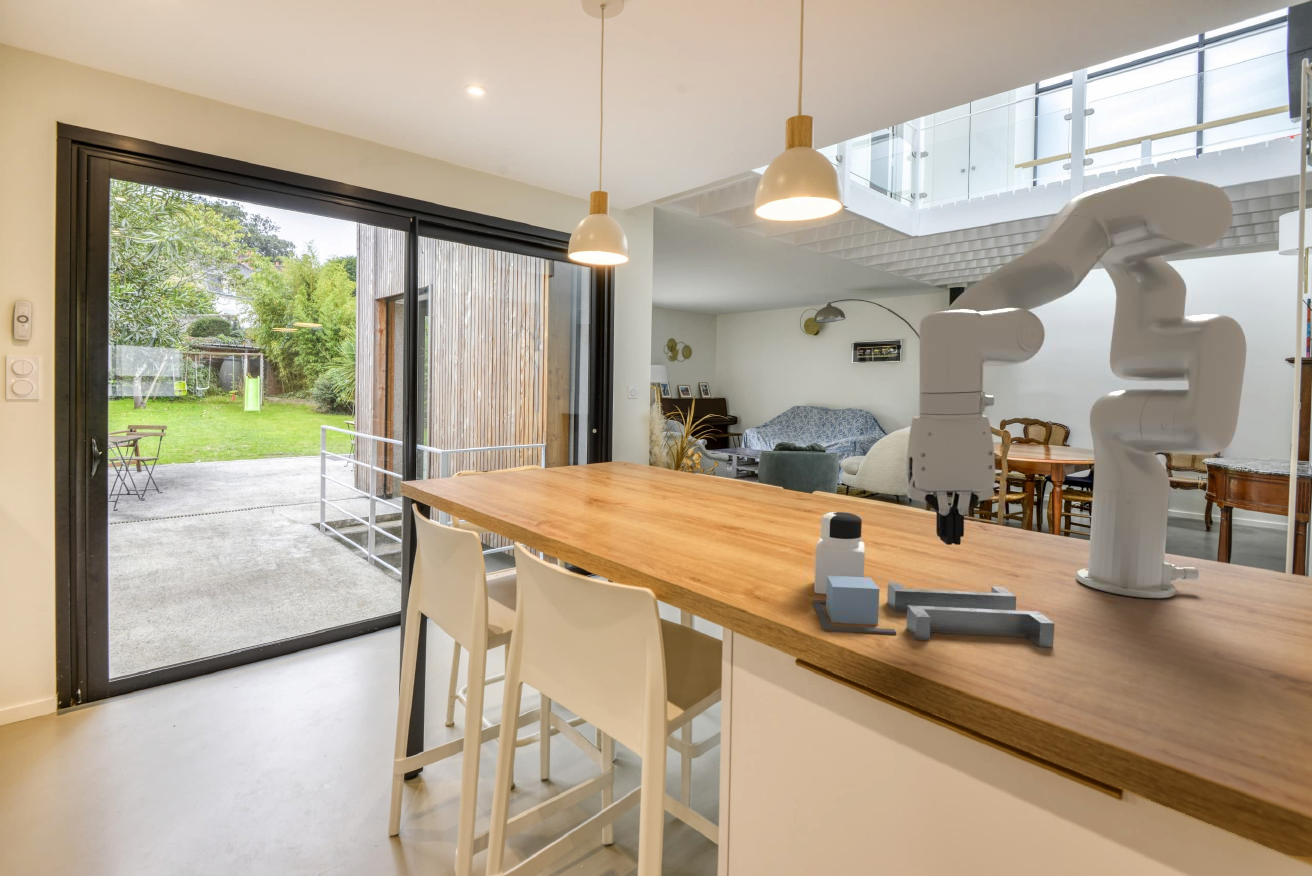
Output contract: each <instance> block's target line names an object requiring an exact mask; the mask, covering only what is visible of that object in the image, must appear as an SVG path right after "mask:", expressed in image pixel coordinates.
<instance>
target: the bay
mask: <svg viewBox="0 0 1312 876" xmlns="http://www.w3.org/2000/svg"><path fill="white" fill-rule="evenodd" d="M812 604H813V606H814V609H815V611H816V613H817V617H818V620H819V622H820V624H821V627H822V629H823V631H824V632H841V633H842V632H843V633H859V634H881V635H897V631H896V629H894V628H880V627H879V628H877V627H863V626H862V627H861V626H860V627H859V626H843V625H842V626H841V625H840V626H837V625H831V624H830V620H829V619H828V616H827V613H826V612H825V610H824V608H823V605H826V599H812Z"/></svg>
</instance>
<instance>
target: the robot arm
mask: <svg viewBox="0 0 1312 876" xmlns="http://www.w3.org/2000/svg"><path fill="white" fill-rule="evenodd" d="M1233 211H1234V209H1233V204H1232V201H1231V199H1230V198H1229V195H1228V194H1227V193H1226V192H1225V191H1224V190H1223V189H1221V187H1218V186H1216V185H1215V184H1212V183H1208V182H1206V181H1205V182H1204V181H1199V180H1195V179H1191V178H1186V177H1182V176H1176V175H1170V174H1147V175H1142V176H1139V177H1135V178H1132V179H1128V180H1125V181H1121V182H1117V183H1113V184H1110V185H1108V186H1103V187H1100V188H1098V189H1093V190H1090V191H1086V192H1084V193H1082V194H1080V195H1078V196H1075V197H1074V198H1073V199H1071V200H1070V201H1069V202H1067V203H1066V204H1065V205H1064V206H1063V207H1062V209H1061V210H1060V211H1059V212H1058V213H1056V215H1055V216H1054V218H1052V220H1051V221H1050V222H1049V223H1048V224H1047V226H1046V227H1045V228H1044V229H1043V230H1042V231H1041V232H1040V234H1038V236H1037V237H1036V238H1035V239H1034V240H1033V241H1032V242H1031V244H1030V245H1029V247H1027V249H1026V250H1024V252H1023V253H1021V254H1020V255H1018V256H1017V257H1015V258H1014V259H1011V260H1010V261H1008V262H1006V263H1005V264H1004V265H1002V266H1000V267H999V268H997V269H996V270H994V271H993V272H991V273H990V274H988V275H987V276H985V277H984V278H982V279H980V280H978V281H977V282H976V283H974V284H972V285H971V286H969V288H967V289H966V290H965V291H964V292H962V293H961V294H960V295H959V296H957V297H956V299H955V300H954V301H952V303H951V304H950V305H949V307H947V309H946V310H942V311H936V312H931V313H929V314H927V315H924V317H922V319H920V323H919V416H913V417H912V420H911V424H910V429H909V435H908V443H907V445H908V446H907V453H906V454H907V455H906V469H905V471H906V472H905V476H906V477H905V478H906V482H907V484H908V485H909V486H908V489H907V493H906V494H907V495H906V496H907V497H908V498H909V499H911V500H914V501H917V502H922V503H927V505H929V506H930V507H931V508H932V509H933V510H934V511H935V512H936V515H935V516H936V519H935V520H936V521H935V522H936V527H935V528H936V530H935V531H936V536H937V537H939V539H940V541H942V542H943V543H944V544H946V545H948V546H952V545H953V544H954V545H955V546H957V545H958V546H960V545H961V543H962V541H961V539H962V538H963V537H964V536H965V515H967V514H968V512H969V510H970V509H971V508H972V507H973V506H974V505H975V504H976V503H978V502H982V501H987V500H989V499H994V497H995V490H994V486H995V481H996V463H995V462H996V459H995V458H996V457H995V448H994V440H993V434H992V429H991V424H990V421H989V420H990V419H989V416H988V415H984V413H983V412H985V411H986V410H985V408H988V407H993V406H995V405H994V404H995V397H994V396H993V395H986V393H985V391H984V367H1000V366H1001V367H1003V366H1012V365H1013V366H1014V365H1018V364H1023V363H1025V362H1026V361H1029V360H1030V359H1033V357H1035V356H1036V354H1038V353H1039V352H1040V350H1041V348H1042V347H1043V345H1044V343H1045V342H1044V341H1045V334H1046V333H1045V327H1044V324H1043V323H1042V321H1041V319H1040V318H1039V317H1038V315H1036V314H1035V313H1033V312H1032V311H1030V310H1033V309H1036V308H1039V307H1042V306H1044V305H1047V304H1049V303H1051V302H1054V301H1055V300H1058V299H1061V298H1063V297H1064V296H1066V295H1068V294H1070V293H1072V292H1073V291H1075V290H1076V289H1077V288H1078V287H1079V286H1080V284H1081V283H1082V282H1083V281H1084V279H1085V278H1086V277H1087V275H1088V274H1089V273H1090V271H1092V269H1094V267H1095V265H1097V263H1098V262H1099V263H1100V264H1101V266H1102V267H1103V268H1104V270H1105V271H1106V273H1107V274H1108V276H1109V278H1110V280H1111V281H1112V284H1113V286H1114V289H1115V295H1116V296H1115V308H1114V309H1115V310H1114V319H1113V324H1112V325H1113V327H1112V335H1111V341H1110V351H1109V365H1110V370H1111V372H1112V373H1113V375H1115V377H1117V378H1119V379H1122V380H1124V381H1125V380H1126V381H1134V382H1135V381H1137V382H1140V381H1141V382H1160V381H1161V382H1169V381H1170V382H1175V381H1176V382H1180V381H1181V382H1182V381H1183V382H1184V381H1185V382H1187V381H1188V389H1156V388H1155V389H1151V388H1150V389H1149V388H1147V389H1146V388H1145V389H1143V388H1142V389H1138V388H1137V389H1136V388H1135V389H1122V390H1121V389H1120V390H1115V391H1111V392H1108V393H1105V394H1104V395H1102V396H1101V397H1099V398H1098V399H1097V400H1096V401H1095V402H1094V403H1093V405H1092V407H1091V409H1090V412H1089V429H1090V434H1091V439H1092V445H1093V446H1092V447H1093V455H1094V456H1093V457H1094V458H1093V460H1094V463H1093V464H1094V468H1093V471H1094V472H1093V486H1092V488H1093V489H1092V501H1091V502H1092V503H1091V505H1092V506H1091V517H1090V518H1091V519H1090V520H1091V521H1090V535H1089V536H1090V537H1089V552H1088V553H1089V554H1088V567H1086V568H1082V569H1079V570H1077V571H1076V577H1075V578H1076V580H1077V581H1078V582H1080V583H1081V584H1083V585H1085V586H1087V587H1090V588H1092V589H1095V590H1098V591H1102V592H1107V593H1111V594H1116V595H1120V596H1127V597H1133V598H1134V597H1135V598H1142V599H1144V598H1145V599H1167V598H1172V597H1174V596H1175V595H1176V588H1177V587H1176V586H1175V585H1174V584H1173V583H1171V582H1174V581H1176V580H1177V579H1181V580H1192V581H1196V580H1198V578H1199V577H1200V576H1199V575H1200V574H1199V571H1198V569H1197V567H1194V566H1193V567H1192V566H1191V567H1190V566H1179V567H1178V566H1177V565H1176V564H1172V563H1170V562H1167V561H1166V560H1165V557H1166V544H1167V543H1166V542H1167V528H1168V516H1169V502H1170V489H1171V482H1170V481H1171V480H1170V477H1169V473H1168V471H1167V470H1166V467H1165V466H1164V465H1163V463H1162V462H1161V459H1160V458H1158V456H1157V455H1156V453H1167V454H1168V453H1169V454H1180V455H1181V454H1182V455H1183V454H1184V455H1195V456H1209V455H1216V454H1219V453H1221V452H1223V451H1225V450H1226V449H1227V448H1228V447H1229V446H1230V444H1231V443H1232V441H1233V440H1234V437H1235V434H1236V431H1237V427H1238V426H1237V425H1238V420H1239V414H1240V407H1241V398H1242V391H1243V384H1244V376H1245V368H1246V361H1247V360H1246V359H1247V339H1246V335H1245V333H1244V330H1243V327H1242V326H1241V325H1240V324H1239V322H1238V321H1236V320H1235V319H1234V318H1232V317H1230V316H1228V315H1224V314H1223V315H1222V314H1214V313H1213V314H1211V313H1210V314H1199V315H1189V316H1187V315H1186V316H1185V312H1186V311H1185V309H1186V301H1187V299H1186V298H1187V284H1186V283H1185V280H1184V279H1183V277H1182V275H1181V274H1180V273H1179V271H1177V270H1176V269H1175V268H1174V267H1173V266H1172V265H1171V264H1169V263H1168V261H1166V260H1164V259H1163V257H1162V256H1169V255H1172V254H1178V253H1184V252H1188V251H1195V250H1201V249H1204V248H1207V247H1209V246H1213V245H1214V244H1216V243H1218V242H1219V241H1220V240H1222V239H1223V238H1224V237H1225V235H1226V234H1227V232H1228V231H1229V229H1230V228H1231V224H1232V222H1233V217H1234V212H1233ZM948 493H952V497H951V498H952V499H951V504H950V507H949V502H948V495H947V494H948Z"/></svg>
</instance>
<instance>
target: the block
mask: <svg viewBox="0 0 1312 876" xmlns="http://www.w3.org/2000/svg"><path fill="white" fill-rule="evenodd" d="M825 596H826V599H825V600H826V604H825V610H826V612H828V613H827V615H828V617H829V619H830V621H831V623H834V622H840V624H853V623H855V624H857V625H858V624H859V625H875V626H878V625H879V609H880V607H879V606H880V588H879V586H878V585H877V584H876V583H875V581H874V580H873V579H872V578H871V577H865V576H864V577H848V576H827V591H826V594H825Z"/></svg>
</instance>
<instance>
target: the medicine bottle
mask: <svg viewBox="0 0 1312 876" xmlns="http://www.w3.org/2000/svg"><path fill="white" fill-rule="evenodd" d="M820 521H821V522H820V523H821V524H820V538H819V539H818V541H817V543H816V547H815V550H814V551H815V553H814V554H815V556H814V559H815V561H814V592H815V594H819V595H820V594H821V595H826V591H827V576H848V577H865V557H866V556H865V555H866V553H865V552H866V551H865V544H866V543H865V542H864V541H862V529H863V527H862V526H863V525H862V523H863V521H862V518H861V517H860V516H858V515H857V514H855V513H850V512H844V511H843V512H842V511H833V512H830V511H829V512H827V513H825V514H823V515H822V516H821V520H820Z"/></svg>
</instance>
